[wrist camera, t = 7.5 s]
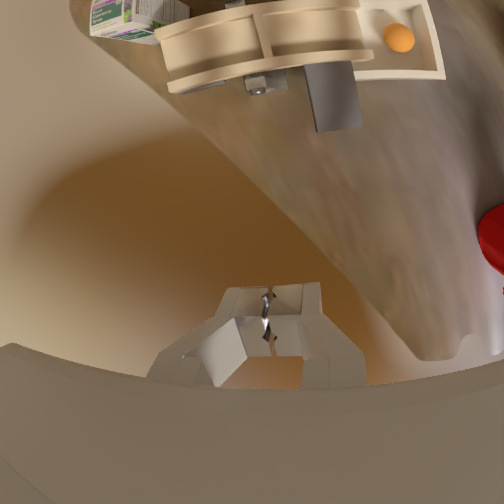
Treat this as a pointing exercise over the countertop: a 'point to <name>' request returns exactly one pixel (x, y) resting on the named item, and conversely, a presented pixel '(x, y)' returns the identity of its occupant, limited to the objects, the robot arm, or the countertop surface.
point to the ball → (398, 37)
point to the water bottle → (493, 238)
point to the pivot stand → (265, 79)
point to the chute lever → (274, 51)
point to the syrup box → (135, 18)
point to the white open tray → (389, 61)
